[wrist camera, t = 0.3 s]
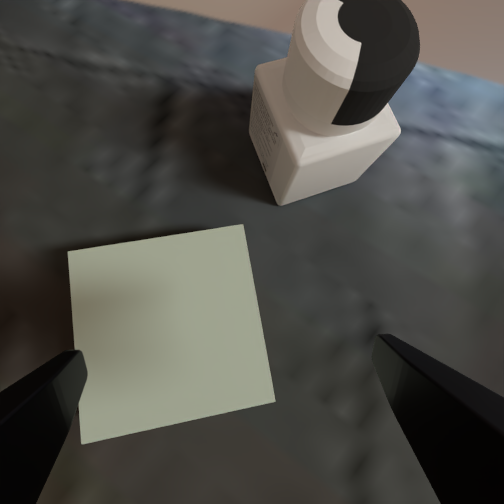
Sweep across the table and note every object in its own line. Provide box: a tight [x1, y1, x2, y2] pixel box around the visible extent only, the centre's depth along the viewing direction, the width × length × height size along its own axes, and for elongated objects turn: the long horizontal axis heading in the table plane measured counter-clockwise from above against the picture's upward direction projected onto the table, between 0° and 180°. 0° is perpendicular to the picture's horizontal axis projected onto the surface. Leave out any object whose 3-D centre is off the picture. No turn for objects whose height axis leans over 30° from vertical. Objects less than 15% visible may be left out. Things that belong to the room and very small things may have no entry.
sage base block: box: [68, 224, 276, 444], centre depth 21 cm, size 12×12×4 cm
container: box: [249, 0, 420, 206], centre depth 21 cm, size 8×8×13 cm
